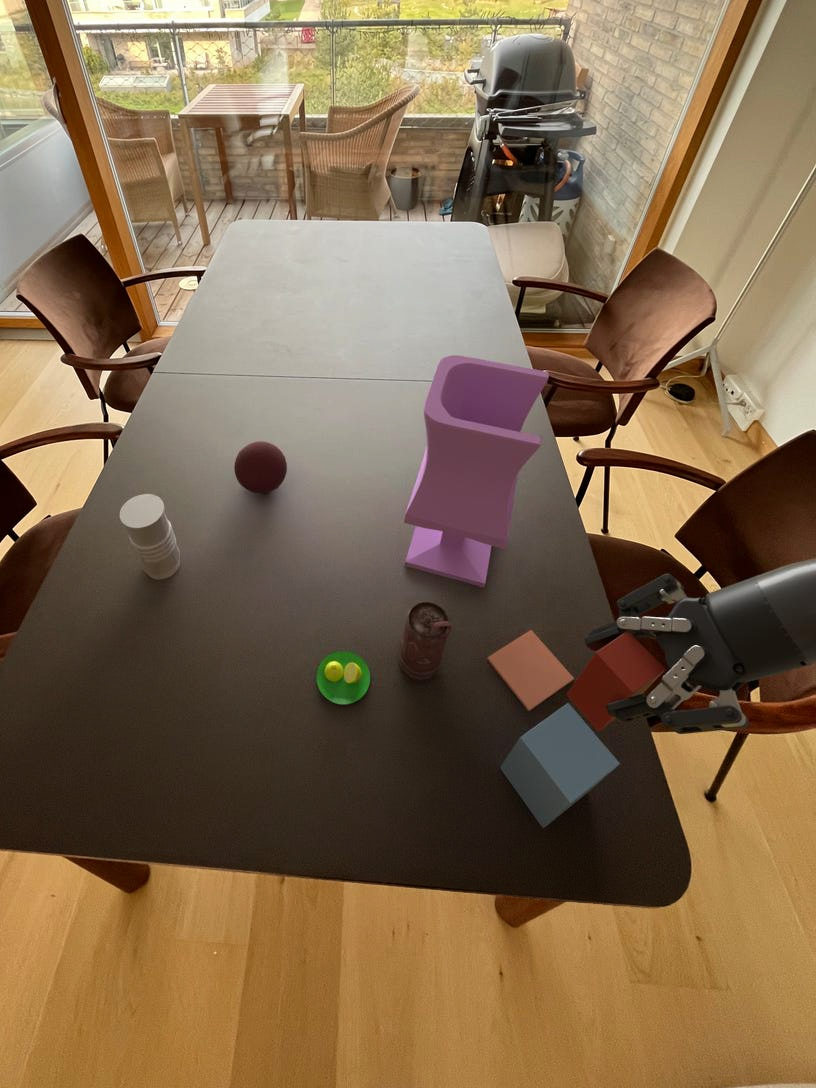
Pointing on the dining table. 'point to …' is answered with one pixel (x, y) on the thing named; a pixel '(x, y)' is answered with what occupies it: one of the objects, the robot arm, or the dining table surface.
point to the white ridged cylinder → (151, 535)
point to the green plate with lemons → (343, 677)
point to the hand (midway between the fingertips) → (599, 677)
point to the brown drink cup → (423, 642)
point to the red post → (613, 678)
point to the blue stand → (557, 764)
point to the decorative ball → (260, 467)
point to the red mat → (530, 670)
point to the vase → (470, 464)
